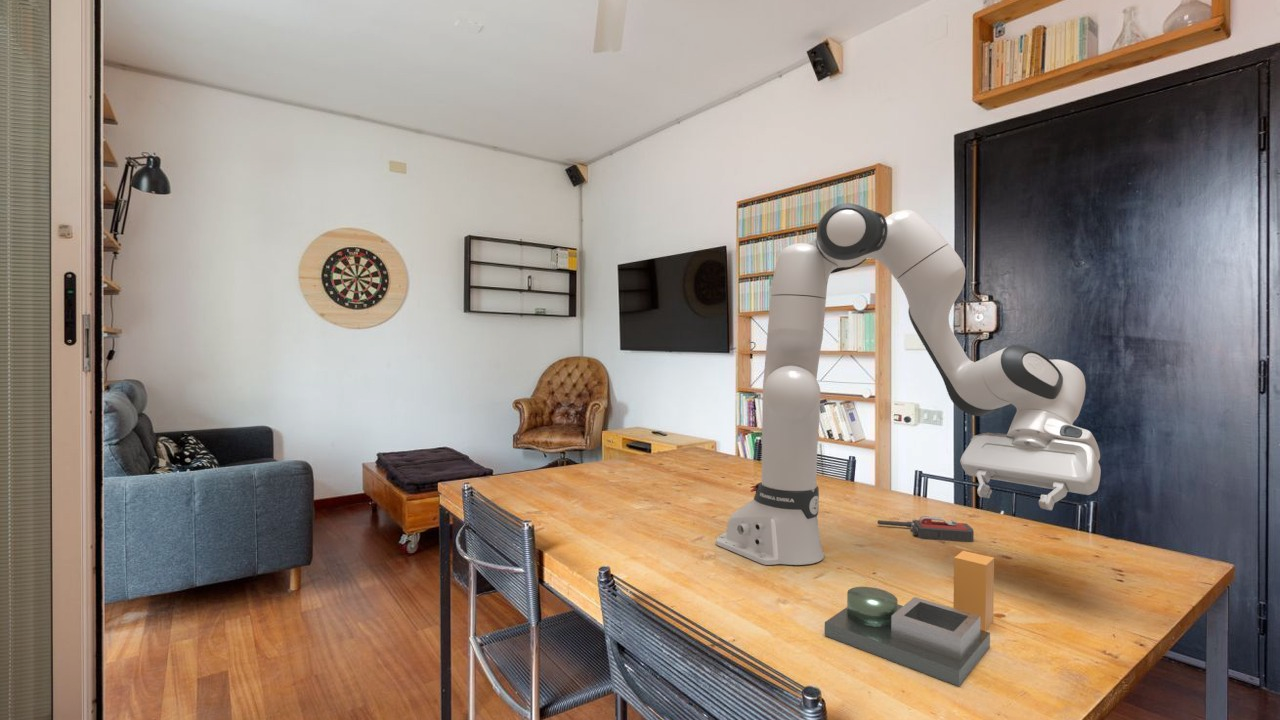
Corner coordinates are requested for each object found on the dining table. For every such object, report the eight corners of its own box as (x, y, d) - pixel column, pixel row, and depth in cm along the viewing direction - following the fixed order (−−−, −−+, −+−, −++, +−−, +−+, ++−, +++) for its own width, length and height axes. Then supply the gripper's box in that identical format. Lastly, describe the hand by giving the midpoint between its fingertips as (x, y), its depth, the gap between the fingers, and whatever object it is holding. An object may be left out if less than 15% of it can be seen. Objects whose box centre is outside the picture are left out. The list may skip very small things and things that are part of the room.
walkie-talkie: (967, 532, 135) (876, 526, 140) (967, 514, 135) (876, 508, 140) (980, 545, 127) (883, 537, 131) (980, 525, 127) (883, 518, 131)
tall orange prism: (953, 621, 90) (954, 557, 90) (962, 612, 93) (963, 550, 93) (985, 631, 87) (986, 565, 87) (993, 621, 90) (994, 557, 90)
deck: (824, 635, 85) (824, 601, 85) (865, 606, 95) (865, 576, 95) (958, 686, 72) (959, 646, 72) (989, 646, 82) (990, 611, 82)
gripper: (970, 420, 109) (943, 478, 104) (1102, 432, 93) (1079, 502, 87) (981, 442, 112) (955, 499, 107) (1112, 457, 95) (1090, 526, 90)
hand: (1012, 501), depth 97 cm, fingers open, 8 cm apart
